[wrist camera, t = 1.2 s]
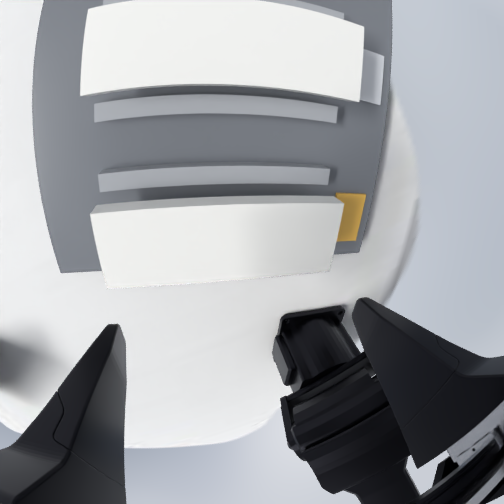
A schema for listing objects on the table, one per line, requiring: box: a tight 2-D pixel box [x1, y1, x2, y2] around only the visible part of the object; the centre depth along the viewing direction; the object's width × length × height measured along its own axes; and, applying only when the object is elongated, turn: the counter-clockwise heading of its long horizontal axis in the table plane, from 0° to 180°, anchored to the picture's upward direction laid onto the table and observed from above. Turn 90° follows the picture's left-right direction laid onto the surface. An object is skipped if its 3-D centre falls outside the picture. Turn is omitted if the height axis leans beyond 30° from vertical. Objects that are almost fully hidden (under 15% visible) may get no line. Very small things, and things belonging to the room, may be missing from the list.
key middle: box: [80, 0, 364, 102], centre depth 9 cm, size 13×4×1 cm, turn 86°
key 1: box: [90, 195, 344, 289], centre depth 14 cm, size 13×4×1 cm, turn 86°
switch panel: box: [32, 0, 392, 273], centre depth 12 cm, size 22×27×2 cm
